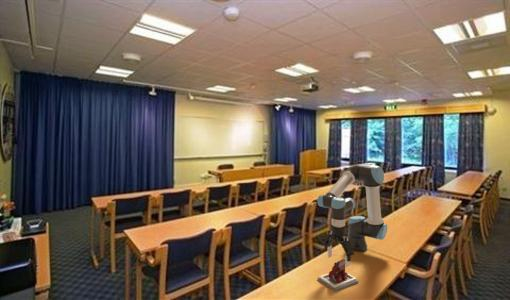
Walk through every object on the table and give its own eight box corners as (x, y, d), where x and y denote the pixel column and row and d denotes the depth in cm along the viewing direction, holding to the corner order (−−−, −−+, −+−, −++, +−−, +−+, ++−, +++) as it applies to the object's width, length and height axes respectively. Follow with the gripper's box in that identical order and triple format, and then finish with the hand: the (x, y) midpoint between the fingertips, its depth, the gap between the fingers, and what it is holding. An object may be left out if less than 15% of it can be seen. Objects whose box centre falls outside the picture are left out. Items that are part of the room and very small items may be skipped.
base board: (339, 272, 166) (339, 268, 166) (358, 282, 154) (358, 278, 154) (317, 279, 158) (317, 275, 158) (335, 291, 145) (335, 287, 145)
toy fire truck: (326, 279, 155) (326, 262, 155) (339, 273, 162) (339, 256, 162) (336, 285, 150) (336, 266, 149) (349, 278, 157) (349, 260, 156)
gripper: (318, 220, 164) (318, 254, 165) (351, 233, 142) (351, 272, 143) (327, 218, 167) (327, 251, 169) (360, 230, 146) (360, 268, 147)
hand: (338, 261), depth 156 cm, fingers open, 13 cm apart
